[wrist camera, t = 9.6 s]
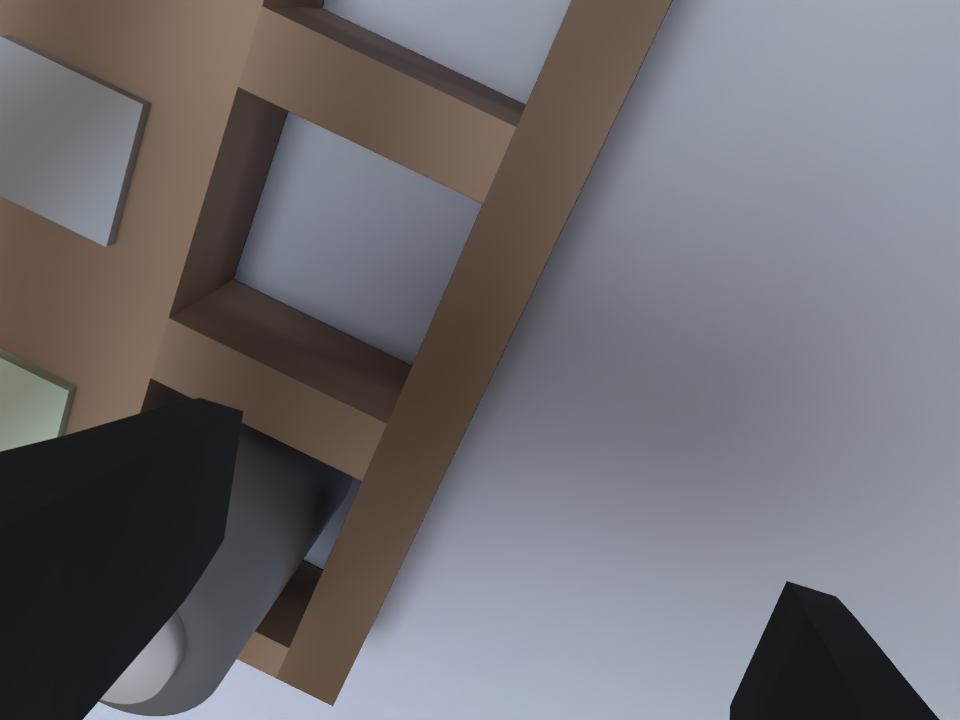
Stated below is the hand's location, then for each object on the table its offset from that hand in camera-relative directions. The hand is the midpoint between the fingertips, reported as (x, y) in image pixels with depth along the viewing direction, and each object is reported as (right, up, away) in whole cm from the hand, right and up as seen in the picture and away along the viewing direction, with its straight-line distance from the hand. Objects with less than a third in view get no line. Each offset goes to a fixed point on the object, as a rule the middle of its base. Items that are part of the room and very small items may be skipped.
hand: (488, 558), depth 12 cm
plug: (-5, 0, +11) cm, 12 cm away
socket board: (-5, +6, +9) cm, 12 cm away
